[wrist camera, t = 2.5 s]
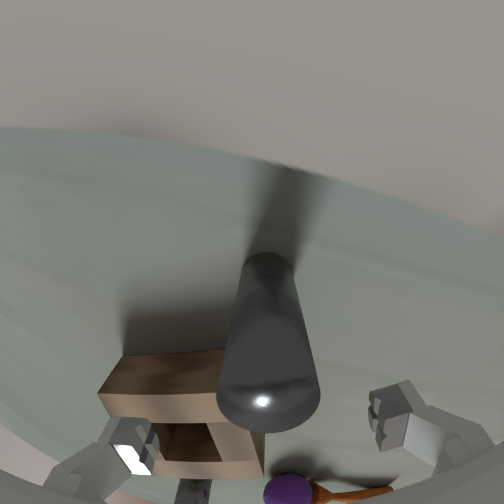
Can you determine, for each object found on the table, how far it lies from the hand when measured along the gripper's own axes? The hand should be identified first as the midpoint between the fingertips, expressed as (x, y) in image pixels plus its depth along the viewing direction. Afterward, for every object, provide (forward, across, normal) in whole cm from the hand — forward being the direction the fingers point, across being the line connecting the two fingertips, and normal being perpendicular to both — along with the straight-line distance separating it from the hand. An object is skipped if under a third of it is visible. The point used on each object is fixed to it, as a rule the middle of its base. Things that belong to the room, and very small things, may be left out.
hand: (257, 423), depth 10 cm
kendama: (+16, -5, +32) cm, 36 cm away
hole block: (+15, +8, +12) cm, 21 cm away
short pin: (+16, +12, +26) cm, 33 cm away
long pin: (+15, -1, 0) cm, 15 cm away
